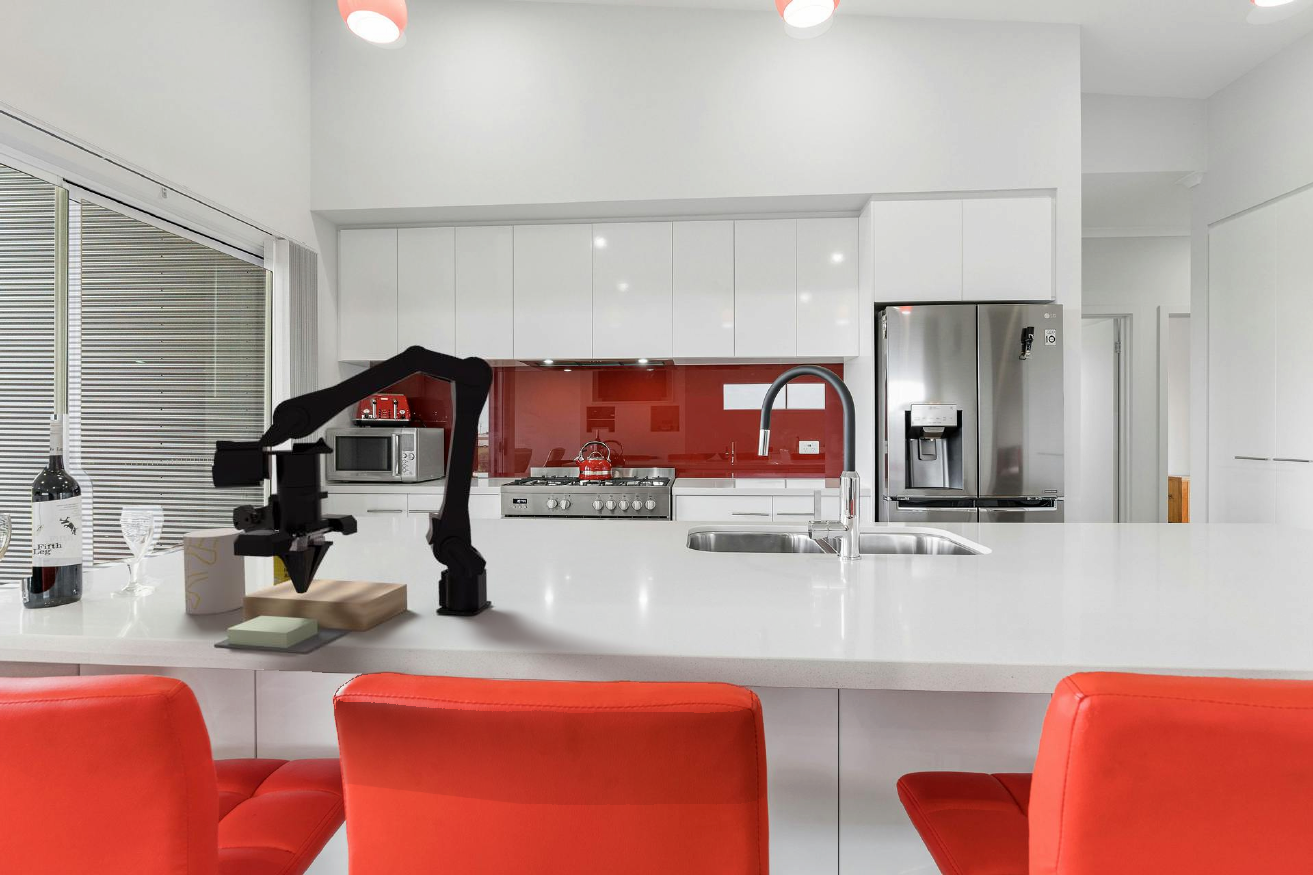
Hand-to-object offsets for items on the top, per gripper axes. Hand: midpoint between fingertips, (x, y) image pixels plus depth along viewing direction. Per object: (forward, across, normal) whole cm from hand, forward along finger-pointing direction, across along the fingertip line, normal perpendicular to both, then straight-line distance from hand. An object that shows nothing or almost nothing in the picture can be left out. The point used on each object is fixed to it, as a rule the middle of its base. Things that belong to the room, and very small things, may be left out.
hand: (301, 592), depth 101 cm
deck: (+5, -6, 0) cm, 8 cm away
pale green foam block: (+3, +6, 0) cm, 6 cm away
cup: (+5, -6, -21) cm, 23 cm away
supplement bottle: (+5, -18, -17) cm, 26 cm away
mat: (+5, +5, +1) cm, 7 cm away
